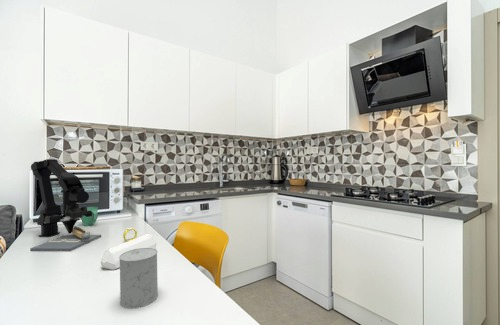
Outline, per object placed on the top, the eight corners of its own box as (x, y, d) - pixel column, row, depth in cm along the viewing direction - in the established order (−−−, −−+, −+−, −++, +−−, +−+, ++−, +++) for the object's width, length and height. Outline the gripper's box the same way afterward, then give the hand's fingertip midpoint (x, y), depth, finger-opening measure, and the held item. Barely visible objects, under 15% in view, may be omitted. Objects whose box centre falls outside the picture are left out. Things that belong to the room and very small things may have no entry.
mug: (76, 225, 150) (75, 208, 150) (93, 222, 158) (93, 206, 158) (87, 228, 142) (86, 211, 142) (105, 225, 150) (104, 208, 150)
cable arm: (70, 232, 126) (70, 226, 126) (78, 230, 129) (78, 224, 129) (82, 239, 114) (82, 233, 114) (91, 237, 116) (91, 231, 116)
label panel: (30, 251, 107) (30, 245, 107) (66, 236, 127) (66, 232, 127) (72, 251, 106) (72, 245, 106) (102, 237, 126) (102, 232, 126)
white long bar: (115, 262, 84) (162, 240, 107) (101, 249, 87) (150, 231, 109) (107, 279, 86) (155, 254, 108) (94, 266, 88) (144, 244, 110)
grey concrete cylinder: (162, 288, 74) (161, 247, 74) (150, 308, 64) (150, 260, 64) (129, 290, 73) (129, 248, 73) (113, 309, 64) (112, 261, 64)
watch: (125, 243, 117) (124, 230, 117) (123, 241, 119) (121, 229, 119) (138, 239, 122) (137, 227, 121) (135, 237, 123) (134, 226, 123)
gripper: (55, 205, 111) (55, 241, 111) (98, 200, 127) (98, 231, 127) (44, 203, 116) (43, 237, 116) (86, 199, 133) (86, 228, 132)
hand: (69, 233), depth 123 cm, fingers closed
